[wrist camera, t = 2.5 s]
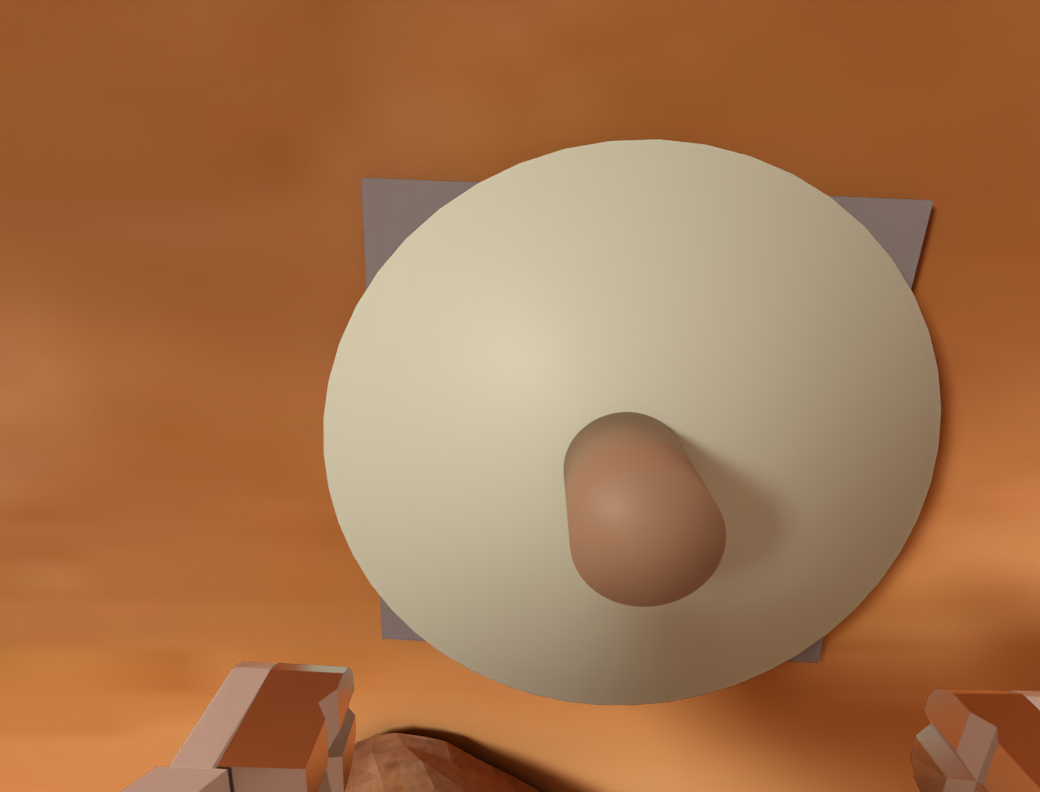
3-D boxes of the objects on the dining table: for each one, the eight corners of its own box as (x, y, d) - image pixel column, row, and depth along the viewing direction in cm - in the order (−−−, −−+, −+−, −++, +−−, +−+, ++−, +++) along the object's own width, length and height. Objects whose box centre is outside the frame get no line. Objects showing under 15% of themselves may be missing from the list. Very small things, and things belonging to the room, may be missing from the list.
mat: (923, 200, 14) (933, 200, 14) (812, 653, 19) (817, 662, 18) (366, 178, 15) (361, 177, 14) (385, 629, 19) (382, 638, 19)
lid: (986, 157, 14) (1201, 134, 9) (842, 688, 19) (937, 839, 14) (318, 132, 14) (215, 98, 10) (353, 661, 19) (296, 800, 15)
